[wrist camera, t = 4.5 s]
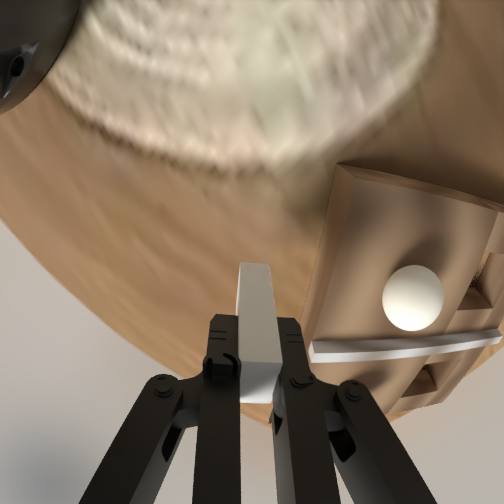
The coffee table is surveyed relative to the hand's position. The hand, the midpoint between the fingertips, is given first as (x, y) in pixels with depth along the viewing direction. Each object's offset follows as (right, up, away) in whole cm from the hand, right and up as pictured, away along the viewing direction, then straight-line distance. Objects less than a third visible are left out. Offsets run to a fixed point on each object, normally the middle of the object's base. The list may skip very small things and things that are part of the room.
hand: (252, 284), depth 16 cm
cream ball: (+10, -1, 0) cm, 10 cm away
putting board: (+14, -4, +8) cm, 17 cm away
